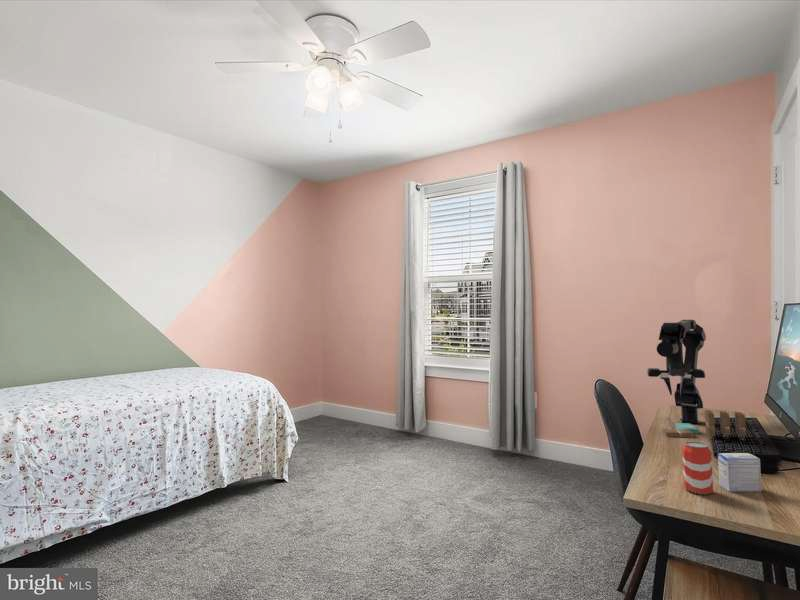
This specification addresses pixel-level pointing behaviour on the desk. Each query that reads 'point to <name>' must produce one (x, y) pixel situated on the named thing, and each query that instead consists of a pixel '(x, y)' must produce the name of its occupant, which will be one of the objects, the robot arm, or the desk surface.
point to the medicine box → (739, 472)
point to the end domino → (687, 427)
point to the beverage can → (697, 467)
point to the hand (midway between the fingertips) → (676, 395)
